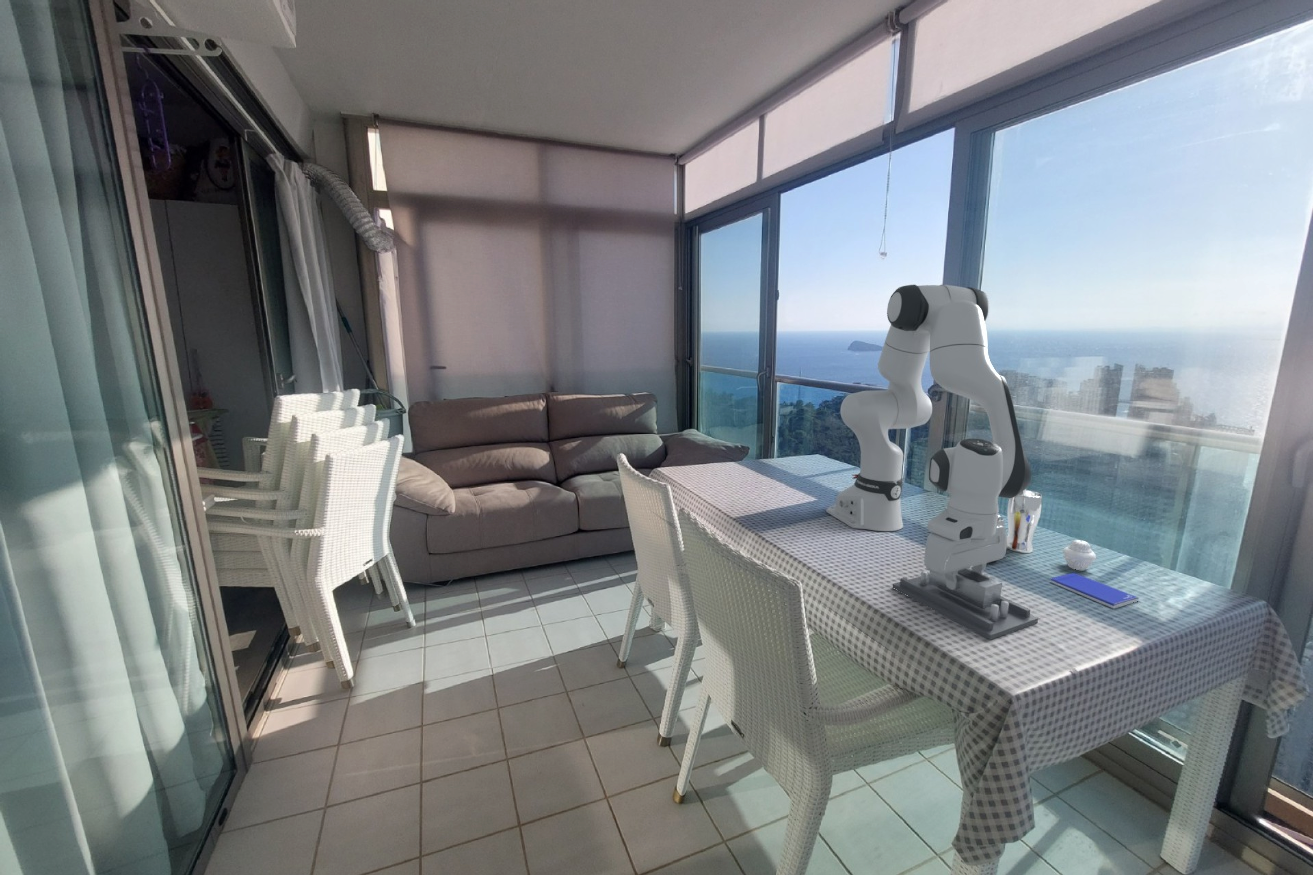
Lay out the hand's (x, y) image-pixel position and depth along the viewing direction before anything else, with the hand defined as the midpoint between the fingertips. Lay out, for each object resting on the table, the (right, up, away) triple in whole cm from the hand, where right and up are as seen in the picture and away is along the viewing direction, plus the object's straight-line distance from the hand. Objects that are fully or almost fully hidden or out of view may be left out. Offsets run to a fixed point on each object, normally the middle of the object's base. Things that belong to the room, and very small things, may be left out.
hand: (963, 585), depth 109 cm
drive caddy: (0, -2, 0) cm, 2 cm away
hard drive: (+32, -4, +6) cm, 33 cm away
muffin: (+37, -1, +18) cm, 41 cm away
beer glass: (+31, +1, +29) cm, 42 cm away
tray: (0, -4, +1) cm, 4 cm away
